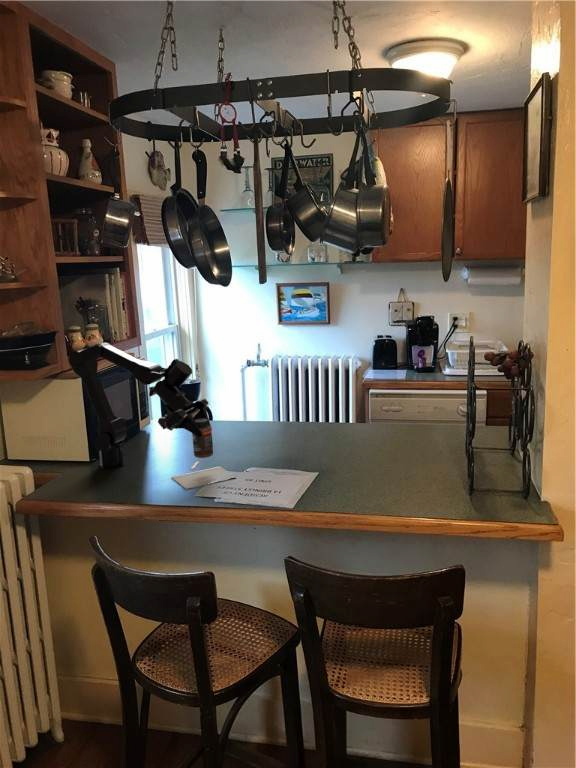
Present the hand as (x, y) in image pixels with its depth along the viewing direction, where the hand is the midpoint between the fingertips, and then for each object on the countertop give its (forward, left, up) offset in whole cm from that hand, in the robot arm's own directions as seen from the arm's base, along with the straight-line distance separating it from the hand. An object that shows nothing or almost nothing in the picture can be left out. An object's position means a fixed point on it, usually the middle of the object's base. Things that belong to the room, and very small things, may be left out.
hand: (206, 433), depth 188 cm
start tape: (-1, +10, -13) cm, 16 cm away
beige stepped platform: (-3, -3, -13) cm, 13 cm away
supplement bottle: (-1, +1, -7) cm, 8 cm away
